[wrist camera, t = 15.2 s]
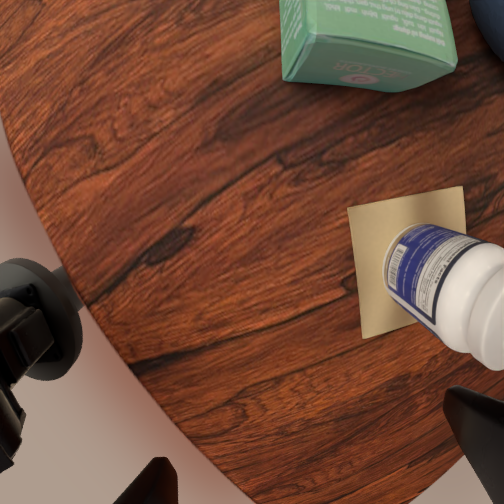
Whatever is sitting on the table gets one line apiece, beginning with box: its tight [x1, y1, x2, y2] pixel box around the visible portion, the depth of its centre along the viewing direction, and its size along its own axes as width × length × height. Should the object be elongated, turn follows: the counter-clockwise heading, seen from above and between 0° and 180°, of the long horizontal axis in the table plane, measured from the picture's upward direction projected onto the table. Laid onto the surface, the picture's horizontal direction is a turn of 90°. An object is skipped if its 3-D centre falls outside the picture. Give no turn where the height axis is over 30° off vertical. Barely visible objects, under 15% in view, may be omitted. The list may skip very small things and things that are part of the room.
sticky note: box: [347, 186, 466, 339], centre depth 20 cm, size 9×9×1 cm
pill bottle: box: [382, 223, 504, 371], centre depth 15 cm, size 6×6×10 cm
